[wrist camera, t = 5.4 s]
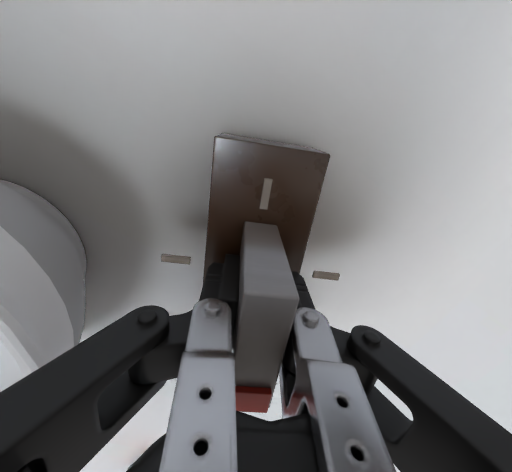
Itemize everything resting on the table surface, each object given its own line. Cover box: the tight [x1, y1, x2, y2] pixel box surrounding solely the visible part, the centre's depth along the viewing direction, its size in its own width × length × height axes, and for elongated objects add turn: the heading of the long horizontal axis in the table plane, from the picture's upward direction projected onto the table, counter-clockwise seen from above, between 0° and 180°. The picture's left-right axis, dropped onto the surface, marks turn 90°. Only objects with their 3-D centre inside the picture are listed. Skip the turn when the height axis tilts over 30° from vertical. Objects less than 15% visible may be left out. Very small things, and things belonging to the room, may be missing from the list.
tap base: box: [161, 133, 340, 284], centre depth 14 cm, size 12×9×3 cm
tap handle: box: [232, 221, 299, 413], centre depth 10 cm, size 5×2×6 cm, turn 171°
